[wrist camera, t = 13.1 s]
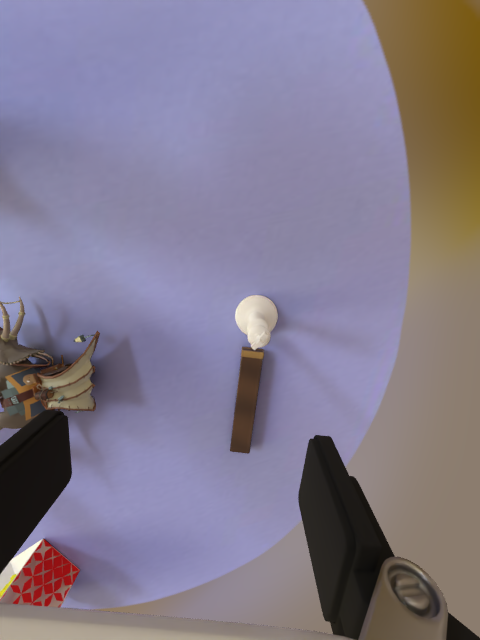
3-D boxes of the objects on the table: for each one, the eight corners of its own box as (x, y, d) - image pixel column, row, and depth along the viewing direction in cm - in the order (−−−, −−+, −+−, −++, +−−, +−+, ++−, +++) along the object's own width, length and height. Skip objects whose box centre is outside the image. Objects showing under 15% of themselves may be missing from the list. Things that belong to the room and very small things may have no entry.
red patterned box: (43, 538, 41) (-4, 604, 33) (80, 569, 42) (43, 640, 35) (9, 560, 42) (-44, 629, 35) (46, 590, 44) (3, 662, 36)
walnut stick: (242, 346, 32) (241, 350, 31) (263, 349, 32) (264, 352, 31) (230, 445, 36) (229, 451, 35) (249, 447, 36) (249, 454, 35)
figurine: (-96, 327, 27) (50, 276, 26) (-34, 317, 33) (88, 275, 32) (-7, 491, 31) (128, 454, 29) (35, 455, 37) (149, 423, 35)
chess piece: (286, 314, 31) (303, 342, 22) (257, 344, 32) (261, 383, 23) (254, 286, 31) (258, 301, 21) (226, 317, 32) (217, 346, 22)
